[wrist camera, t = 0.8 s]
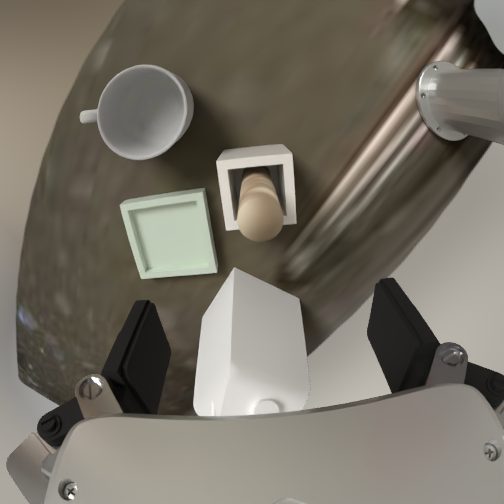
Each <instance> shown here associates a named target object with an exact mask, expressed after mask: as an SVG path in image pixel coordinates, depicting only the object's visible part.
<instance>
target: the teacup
mask: <svg viewBox="0 0 504 504" xmlns="http://www.w3.org/2000/svg"><path fill="white" fill-rule="evenodd" d="M193 111H194V102H193V97H192V94H191V91H190V89H189V88H188V86H187V85H186V83H185V82H184V81H183V80H182V79H181V78H180V77H178V76H177V75H175V74H174V73H172V72H169V71H168V70H166V69H164V68H161V67H158V66H154V65H138V66H135V67H131V68H128V69H126V70H124V71H122V72H120V73H119V74H117V75H116V76H115V77H114V78H113V79H112V80H111V81H110V82H109V83H108V85H107V86H106V88H105V89H104V91H103V93H102V95H101V98H100V101H99V105H98V109H95V110H87V111H82V112H81V114H80V121H81V123H91V122H98V127H99V130H100V133H101V136H102V138H103V140H104V141H105V143H106V144H107V145H108V147H109V148H110V149H111V150H112V151H114V152H115V153H117V154H118V155H120V156H122V157H125V158H128V159H132V160H146V159H150V158H154V157H156V156H159V155H161V154H163V153H164V152H165V151H167V150H168V149H169V148H170V147H172V146H173V144H175V142H177V141H178V140H179V139H180V138H181V137H182V136H183V134H184V133H185V132H186V130H187V129H188V127H189V125H190V123H191V120H192V117H193Z"/></svg>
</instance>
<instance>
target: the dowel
mask: <svg viewBox="0 0 504 504" xmlns="http://www.w3.org/2000/svg"><path fill="white" fill-rule="evenodd" d="M283 222H284V218H283V213H282V210H281V206H280V203H279V200H278V197H277V194H276V190H275V187H274V184H273V181H272V178H271V174H270V171H269V169H268V168H267V167H266V166H255V167H246V168H245V169H244V170H243V174H242V182H241V190H240V199H239V207H238V216H237V224H238V227H239V230H240V231H241V233H242V234H243V235H244V236H245V237H247V238H248V239H250V240H253V241H259V242H261V241H267V240H270V239H272V238H274V237H275V236H276V235H277V234H278V233H279V232H280V231H281V229H282V226H283Z"/></svg>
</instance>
